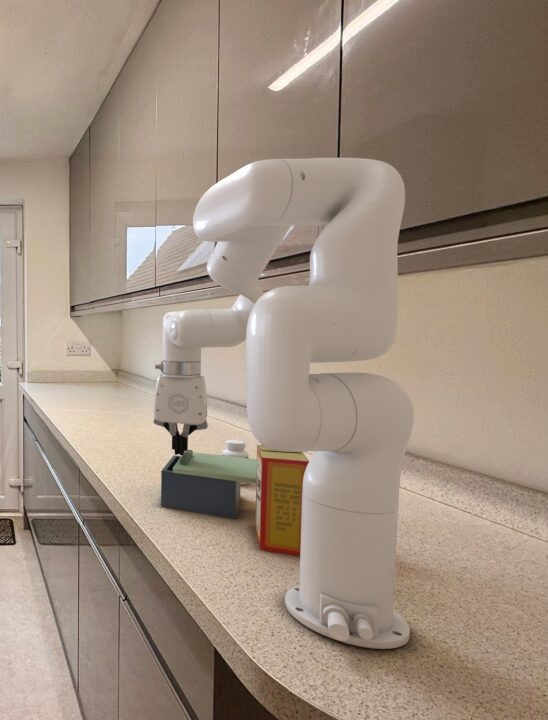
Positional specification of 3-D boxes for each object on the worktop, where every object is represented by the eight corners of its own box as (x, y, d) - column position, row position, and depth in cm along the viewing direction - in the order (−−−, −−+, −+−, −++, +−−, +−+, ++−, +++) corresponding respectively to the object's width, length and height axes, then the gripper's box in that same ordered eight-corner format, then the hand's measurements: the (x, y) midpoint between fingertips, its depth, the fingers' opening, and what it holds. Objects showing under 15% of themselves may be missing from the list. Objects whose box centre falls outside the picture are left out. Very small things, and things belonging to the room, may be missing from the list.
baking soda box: (306, 556, 80) (309, 459, 79) (260, 549, 83) (262, 455, 82) (297, 534, 88) (299, 445, 87) (255, 528, 91) (257, 442, 90)
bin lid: (258, 484, 93) (258, 472, 92) (172, 472, 101) (172, 462, 100) (260, 464, 105) (260, 454, 105) (184, 455, 113) (184, 446, 113)
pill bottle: (244, 479, 119) (244, 439, 118) (251, 486, 114) (252, 444, 113) (219, 477, 120) (220, 438, 120) (225, 484, 115) (226, 443, 115)
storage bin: (235, 519, 95) (236, 480, 95) (161, 506, 103) (161, 470, 102) (240, 497, 107) (241, 463, 106) (173, 487, 114) (173, 455, 114)
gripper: (140, 369, 106) (139, 453, 108) (218, 372, 98) (216, 463, 100) (148, 366, 112) (147, 445, 114) (222, 368, 104) (220, 453, 106)
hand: (179, 453), depth 107 cm, fingers closed
